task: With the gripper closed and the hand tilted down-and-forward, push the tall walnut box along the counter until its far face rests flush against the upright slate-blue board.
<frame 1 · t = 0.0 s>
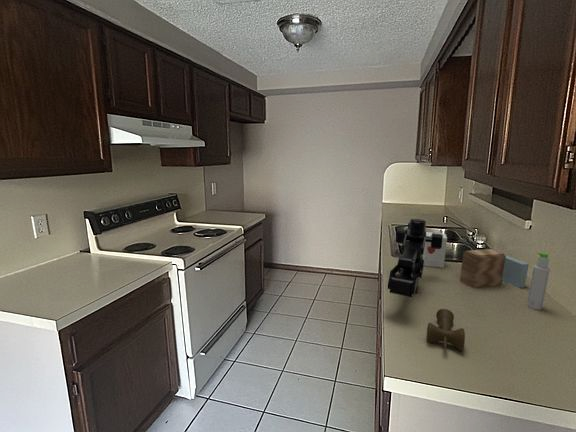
hand: (420, 234, 146), 17 cm above the worktop, tool horizontal, fingers open, 9 cm apart
board: (506, 280, 137), on the worktop
bottle: (534, 307, 114), on the worktop
kendama: (444, 339, 94), on the worktop
supplement box: (432, 264, 156), on the worktop
walnut box: (480, 283, 134), on the worktop
cheese: (411, 255, 168), on the worktop
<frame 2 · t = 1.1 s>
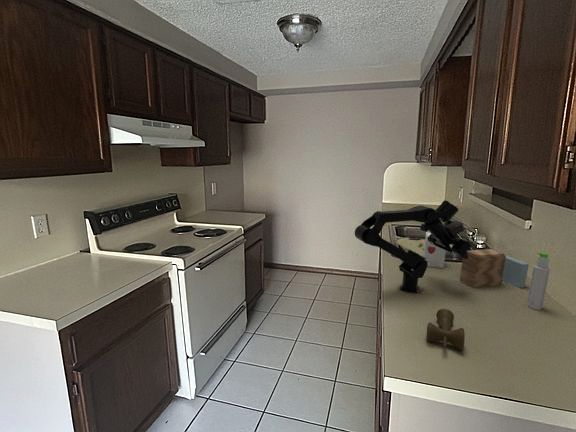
hand: (459, 255, 129), 13 cm above the worktop, tool tilted 45°, fingers open, 8 cm apart
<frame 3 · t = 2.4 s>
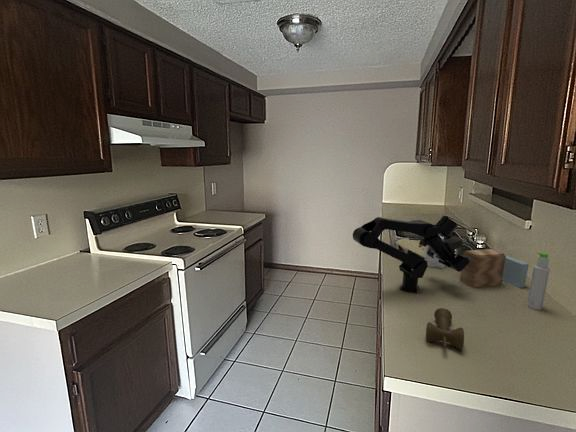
hand: (457, 269, 130), 7 cm above the worktop, tool tilted 45°, fingers closed
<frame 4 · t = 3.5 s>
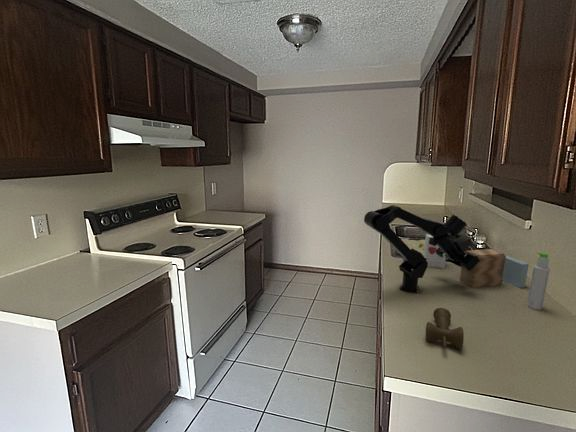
hand: (467, 268, 131), 7 cm above the worktop, tool tilted 45°, fingers closed, pressing on walnut box
walnut box: (480, 283, 134), on the worktop, touching gripper
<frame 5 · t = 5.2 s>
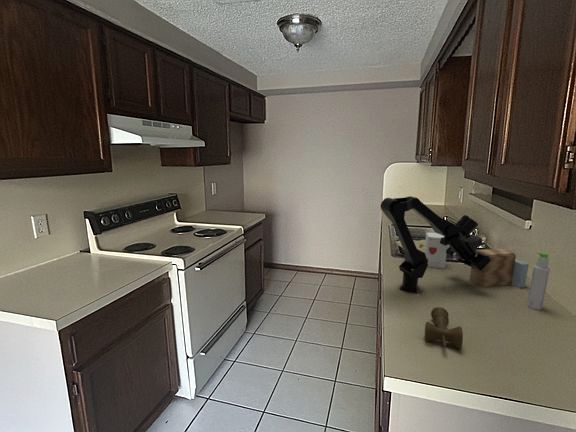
hand: (477, 268, 132), 7 cm above the worktop, tool tilted 45°, fingers closed
walnut box: (490, 282, 135), on the worktop
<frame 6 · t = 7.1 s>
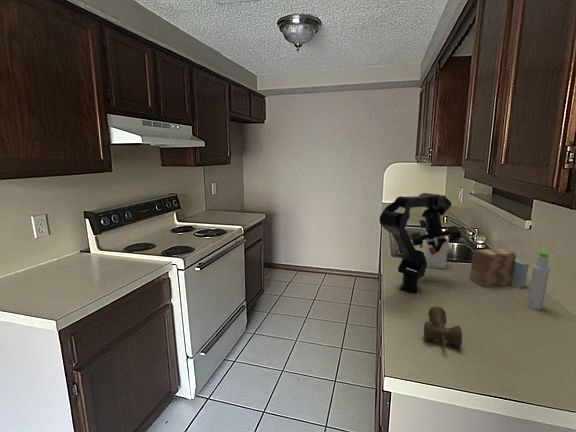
hand: (437, 251, 137), 12 cm above the worktop, tool tilted 25°, fingers closed
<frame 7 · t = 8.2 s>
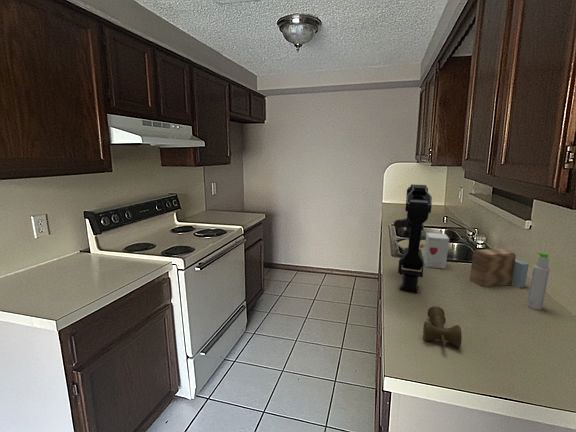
hand: (412, 248, 140), 12 cm above the worktop, tool pointing down, fingers closed
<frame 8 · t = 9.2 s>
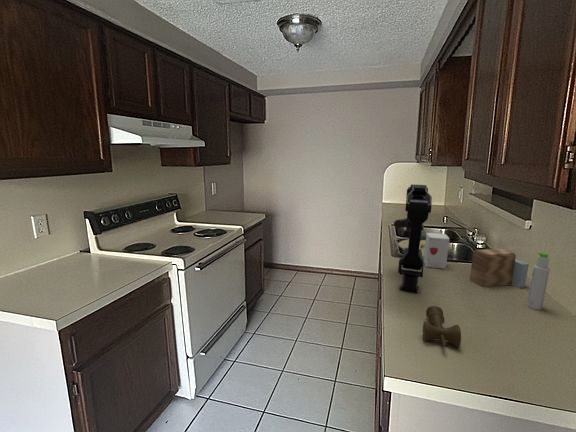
hand: (412, 248, 140), 12 cm above the worktop, tool pointing down, fingers closed
at the end: walnut box 0.1 cm from the target spot on the worktop beside the board, on the worktop; walnut box tilted 0°; walnut box moved 4.9 cm from its start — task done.
